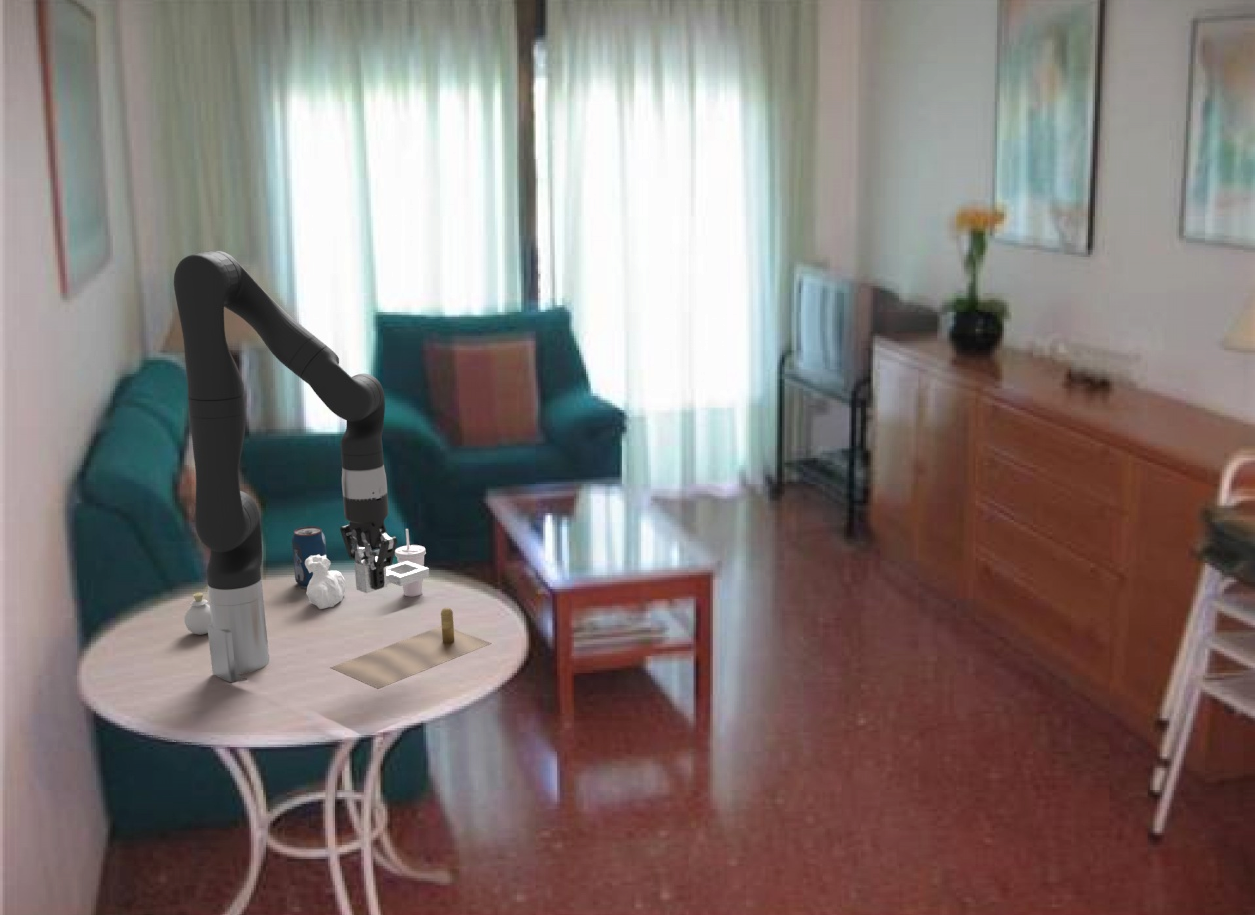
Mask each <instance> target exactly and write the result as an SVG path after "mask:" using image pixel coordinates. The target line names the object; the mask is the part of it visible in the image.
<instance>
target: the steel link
mask: <svg viewBox="0 0 1255 915" xmlns="http://www.w3.org/2000/svg"><path fill="white" fill-rule="evenodd" d="M377 559H378V556H375V560H376V562H377ZM353 564H354V574H355V576H354V577H355V586H356V587H355V588H356V589H355V590H357V591H360V592H363V593H365V594H369V593H373V592H375V591H378V590H382V589H385V588H388V585H390V584H393V585H397V586H399V587H403V585H406V584H409V583H412V582H415V581H418V580H421V579H423V580H424V579H427V578H429V577H430V568H429V567H428V566H421V565H418V564H415V563H412V562H409V561H404V562H401V563H398V562H397V563H396V564H392V565H390V566H386V567H384V581H385V583H384V587H383V588H380V589H377V590H374V589H372V582H371V567H370V561H369V558H367V559H364V560H361V561H357V562H355V561H354V563H353ZM405 572H407V573H405ZM402 573H404V574H402Z"/></svg>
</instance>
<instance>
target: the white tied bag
mask: <svg viewBox="0 0 1255 915" xmlns="http://www.w3.org/2000/svg"><path fill="white" fill-rule="evenodd" d="M326 555H327V554H326ZM326 555H324V556H320V555H319V554H318V555H314V556H312V555H311V556H310V557H308V558H307V559H306V560H305V566H306V568H307V569H308V571H309V573H311V572H313V576H312V578H311V580H310V581H309V584H308V586H307V588H306V592H305V595H306V596H307V597H308V602H310V603H311V604H313V605H314V606H316V607H317V608H318V609H320V610H323V609H327V608H333V607H335V605H338V604H339V603H340V602H342V601H343V599H344V595H345V593H346V590H347V581H346V579H345V577H344V576H343V574H342V572H340V571H339V570H329V568H330V566H331V564H332V563H331V562H332V561H331V560H329V559H328V558H326Z"/></svg>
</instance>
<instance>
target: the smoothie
mask: <svg viewBox="0 0 1255 915" xmlns="http://www.w3.org/2000/svg"><path fill="white" fill-rule="evenodd" d="M409 534H410V533H409V528H405V537H406V545H403V546H399V547H396V549H395V553H394V556H395V557H396V559H397V564H398V563H401V562H404V561H409V562H412V563H415V564H418V565H421V566H424V565H425V555H426V554H427V552H426V548H425V546H422V545H418V544H411V545H410V535H409ZM424 567H425V566H424ZM405 573H407V572H405ZM402 574H404V573H402ZM423 582H424V579H421V580H418V581H415V582H412V583H409V584H406V585H403V586H402V589H403V594H404V596H406V597H418V596H421V595H423Z"/></svg>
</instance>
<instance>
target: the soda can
mask: <svg viewBox="0 0 1255 915" xmlns="http://www.w3.org/2000/svg"><path fill="white" fill-rule="evenodd" d="M291 546H292V557H293V559H292V560H293V567H294V568H293V569H294V578H295V579H294V580H295V583H297V585H298V586H299V587H301V588H304V589H307V586H308V584H309V581H310V580H311V578H312V576H313V572H311V573H309V571H308V569H307V568H306V566H305V560H306V559H307V558H308V557H310V556H311V555H312V556H314V555H318V554H319V555H320V556H324V555H326V558H327V557H328V556H327V546H326V536H325V533H324V532H323V531H322V528H320V527H318V526H304V527H298V528H297V529H295V530H293V536H292V539H291ZM327 559H328V558H327Z"/></svg>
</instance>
